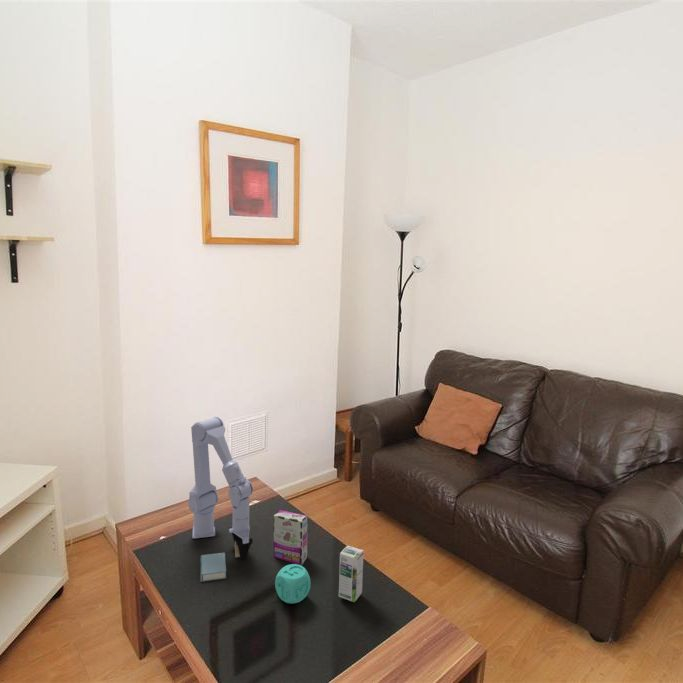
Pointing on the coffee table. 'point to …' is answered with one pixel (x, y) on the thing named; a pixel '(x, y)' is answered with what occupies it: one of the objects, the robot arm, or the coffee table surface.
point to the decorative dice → (292, 583)
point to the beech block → (236, 551)
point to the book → (213, 567)
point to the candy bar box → (290, 536)
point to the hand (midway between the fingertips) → (240, 552)
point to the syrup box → (351, 573)
